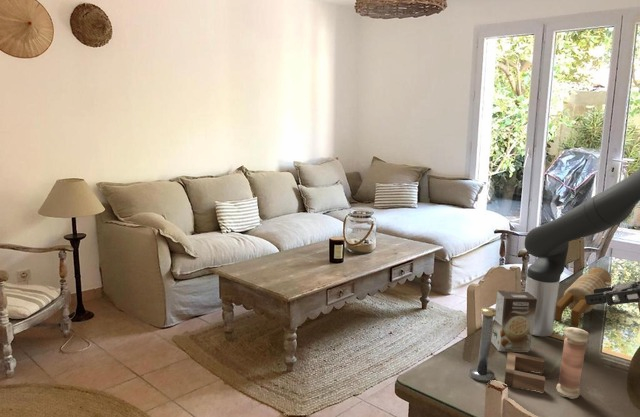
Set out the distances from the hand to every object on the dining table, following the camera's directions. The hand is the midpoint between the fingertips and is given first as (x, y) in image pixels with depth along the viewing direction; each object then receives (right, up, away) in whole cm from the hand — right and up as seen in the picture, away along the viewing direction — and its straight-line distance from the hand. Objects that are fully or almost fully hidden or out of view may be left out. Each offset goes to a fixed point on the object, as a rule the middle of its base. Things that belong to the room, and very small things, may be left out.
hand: (590, 296), depth 116 cm
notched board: (-9, -23, +15) cm, 29 cm away
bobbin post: (-20, -23, +15) cm, 34 cm away
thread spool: (-1, -25, +9) cm, 26 cm away
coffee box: (-6, -20, +32) cm, 38 cm away
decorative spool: (+29, -16, +60) cm, 69 cm away
